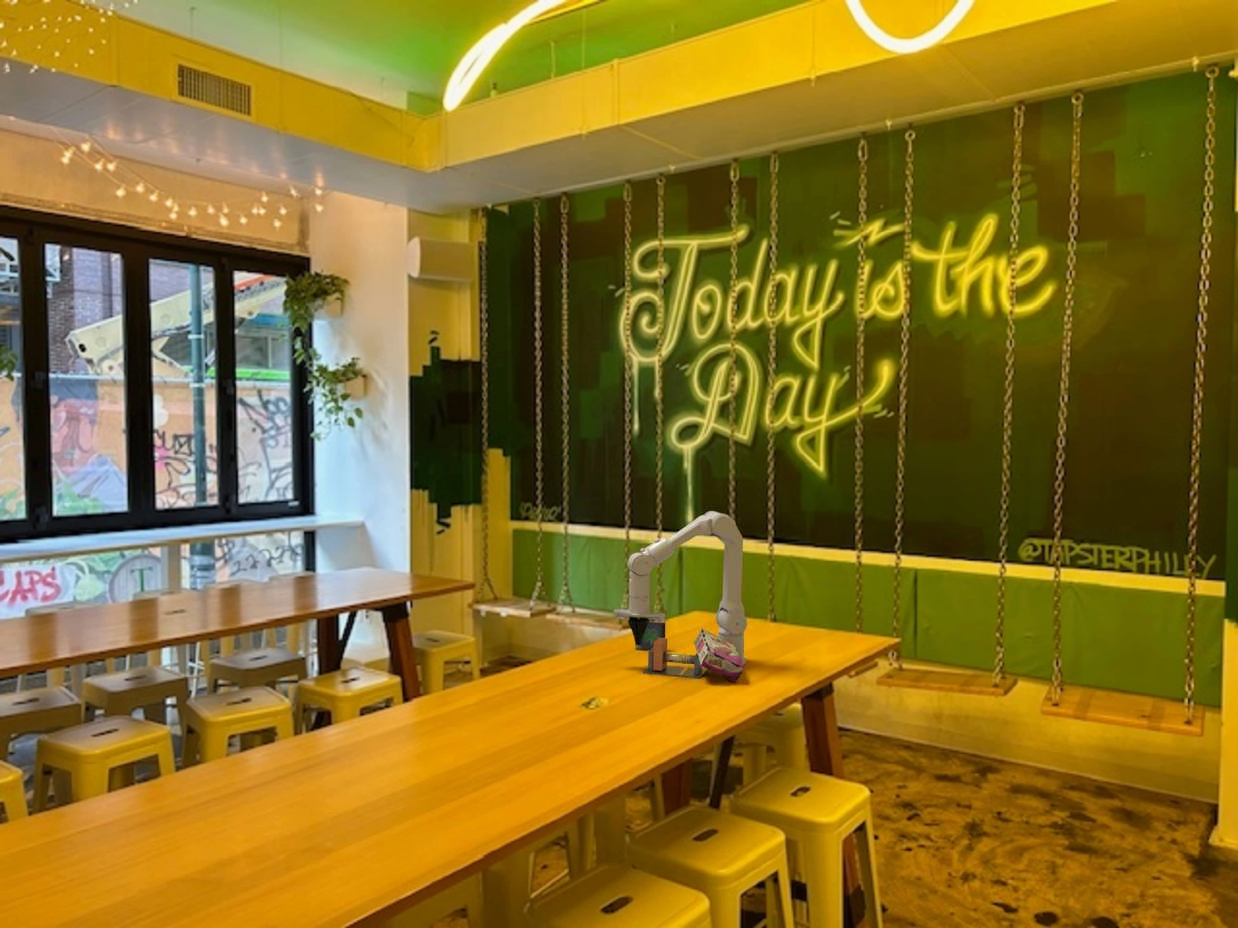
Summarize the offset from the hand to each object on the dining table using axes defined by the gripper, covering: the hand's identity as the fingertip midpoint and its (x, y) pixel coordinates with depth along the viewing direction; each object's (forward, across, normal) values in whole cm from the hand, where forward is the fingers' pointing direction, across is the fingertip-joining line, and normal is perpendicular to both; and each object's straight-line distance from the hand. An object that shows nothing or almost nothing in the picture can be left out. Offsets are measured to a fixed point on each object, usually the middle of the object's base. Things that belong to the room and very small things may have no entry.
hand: (638, 644), depth 261 cm
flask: (+7, -2, +22) cm, 23 cm away
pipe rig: (+7, +11, 0) cm, 13 cm away
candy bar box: (+2, +25, -7) cm, 27 cm away
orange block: (+7, +6, 0) cm, 9 cm away
